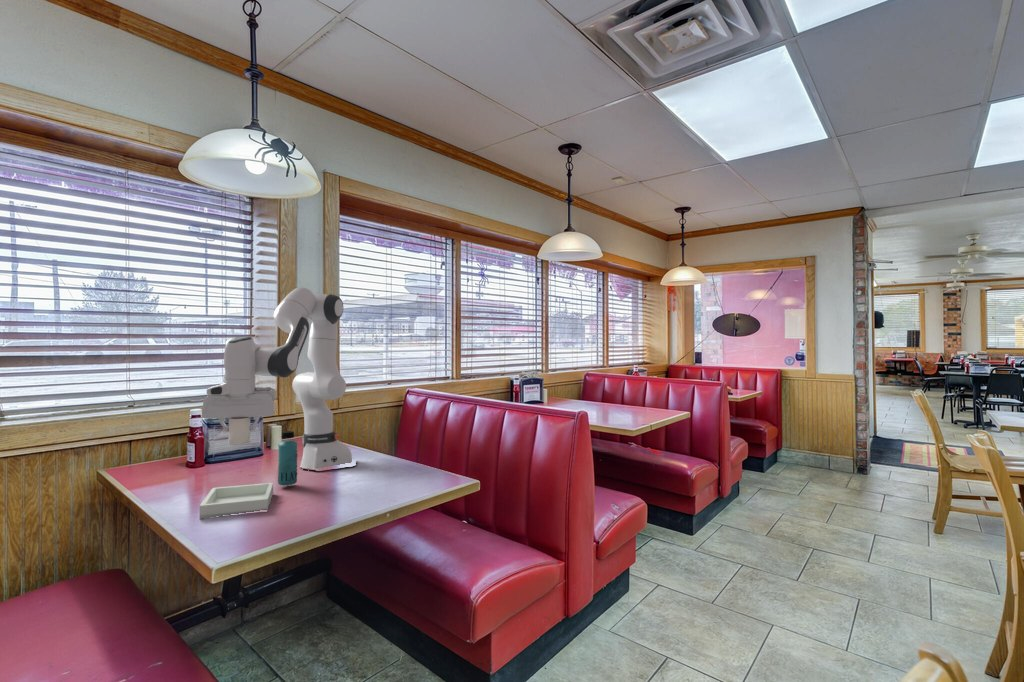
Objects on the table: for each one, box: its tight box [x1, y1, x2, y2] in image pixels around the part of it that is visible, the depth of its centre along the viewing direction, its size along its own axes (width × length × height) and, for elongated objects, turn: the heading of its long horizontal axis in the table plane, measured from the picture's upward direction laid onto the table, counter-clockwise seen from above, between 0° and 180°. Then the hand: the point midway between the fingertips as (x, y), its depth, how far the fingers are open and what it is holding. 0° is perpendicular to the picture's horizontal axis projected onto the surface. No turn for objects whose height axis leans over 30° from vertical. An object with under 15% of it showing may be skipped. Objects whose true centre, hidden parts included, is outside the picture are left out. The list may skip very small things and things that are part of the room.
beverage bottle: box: [277, 430, 299, 487], centre depth 175 cm, size 6×7×20 cm
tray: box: [199, 482, 274, 520], centre depth 156 cm, size 18×18×4 cm
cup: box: [228, 417, 251, 446], centre depth 155 cm, size 6×6×8 cm
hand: (239, 431), depth 155 cm, fingers closed on cup, 6 cm apart
